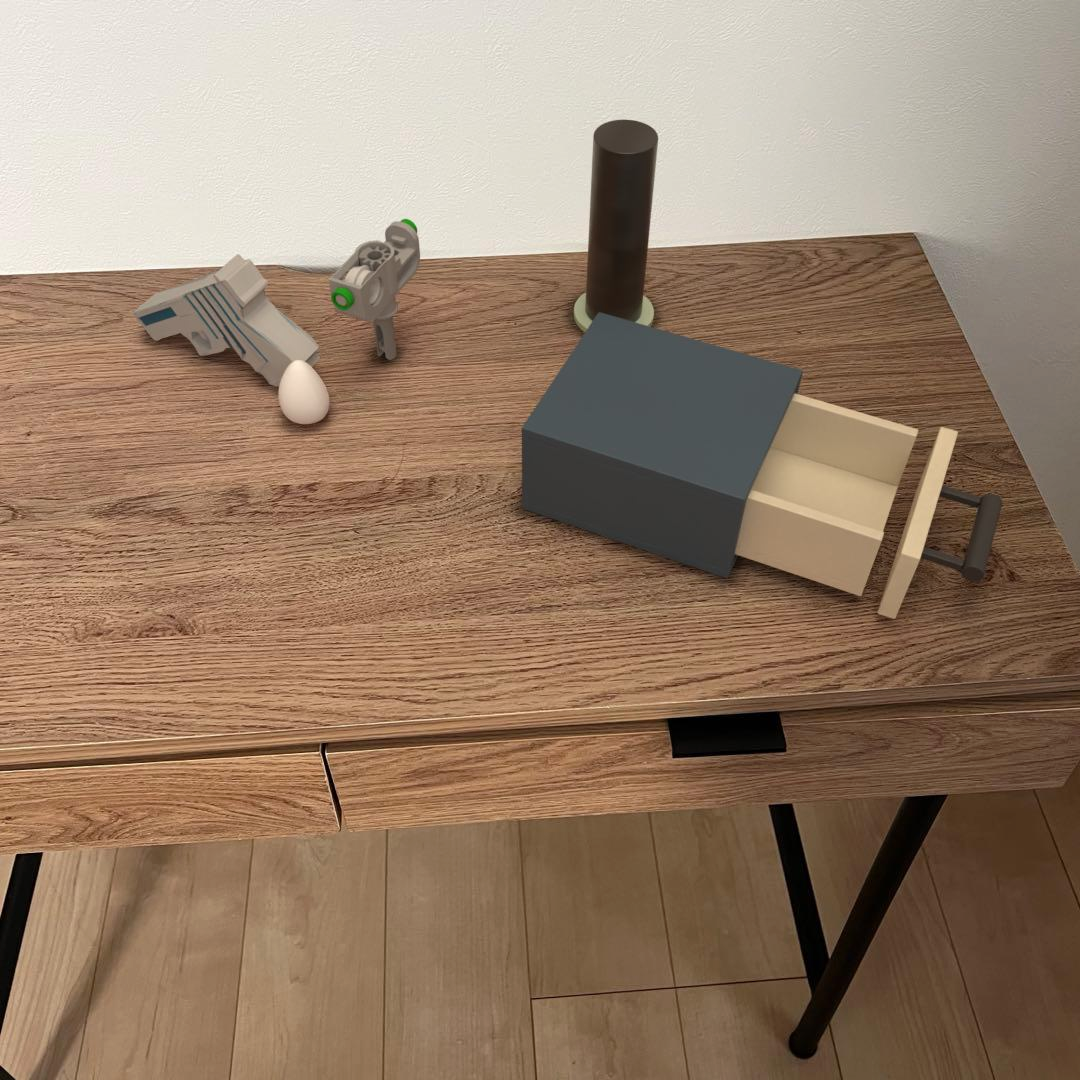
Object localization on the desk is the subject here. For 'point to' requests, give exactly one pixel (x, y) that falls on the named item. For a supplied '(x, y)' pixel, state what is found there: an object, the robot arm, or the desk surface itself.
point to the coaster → (585, 321)
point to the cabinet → (654, 440)
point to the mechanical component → (378, 281)
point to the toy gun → (230, 319)
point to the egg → (303, 394)
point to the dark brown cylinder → (620, 217)
